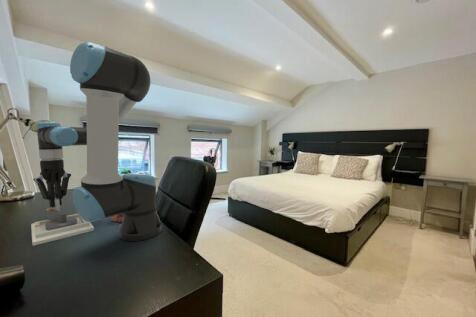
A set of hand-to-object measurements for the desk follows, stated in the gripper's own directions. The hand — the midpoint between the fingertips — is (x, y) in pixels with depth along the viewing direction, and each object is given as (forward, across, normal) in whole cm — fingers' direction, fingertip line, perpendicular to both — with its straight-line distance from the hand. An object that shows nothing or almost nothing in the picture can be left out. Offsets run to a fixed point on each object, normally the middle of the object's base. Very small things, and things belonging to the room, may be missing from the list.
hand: (56, 213), depth 93 cm
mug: (+5, -15, +22) cm, 27 cm away
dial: (+3, +2, +5) cm, 6 cm away
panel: (+4, +2, +7) cm, 9 cm away
